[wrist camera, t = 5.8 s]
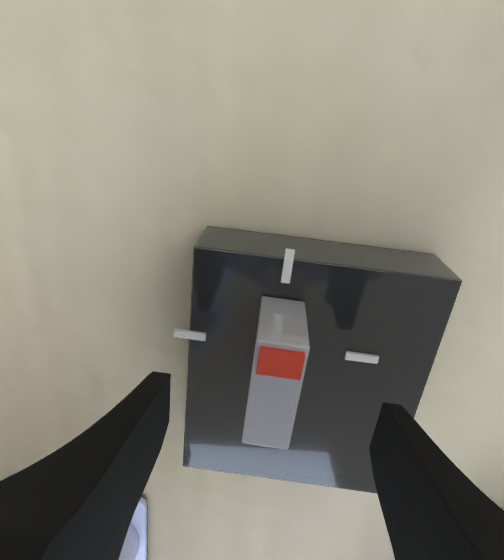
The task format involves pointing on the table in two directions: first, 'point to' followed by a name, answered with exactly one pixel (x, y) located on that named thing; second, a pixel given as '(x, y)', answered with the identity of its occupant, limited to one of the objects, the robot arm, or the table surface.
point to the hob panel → (323, 348)
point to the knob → (276, 372)
